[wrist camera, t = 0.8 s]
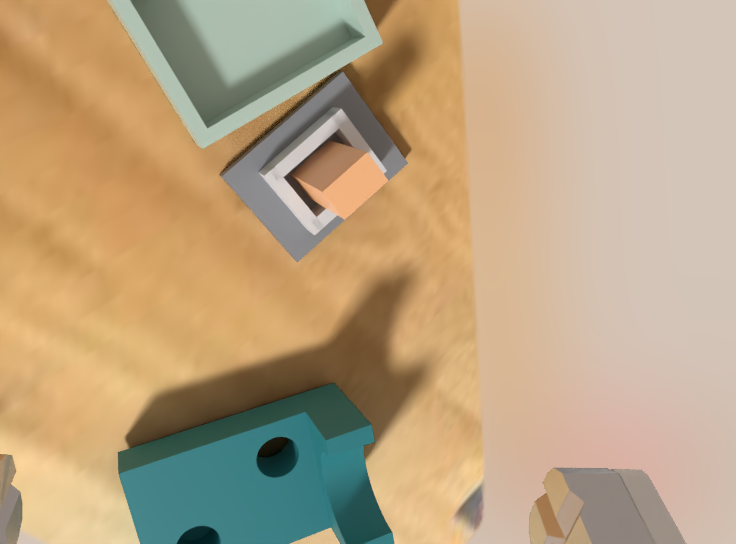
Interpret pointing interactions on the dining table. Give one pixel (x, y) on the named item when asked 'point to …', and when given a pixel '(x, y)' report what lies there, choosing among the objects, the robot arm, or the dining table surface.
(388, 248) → the dining table surface
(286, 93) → the tray
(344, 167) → the orange rectangular block
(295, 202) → the grey socket base plate
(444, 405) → the dining table surface
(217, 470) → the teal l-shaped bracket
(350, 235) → the dining table surface
